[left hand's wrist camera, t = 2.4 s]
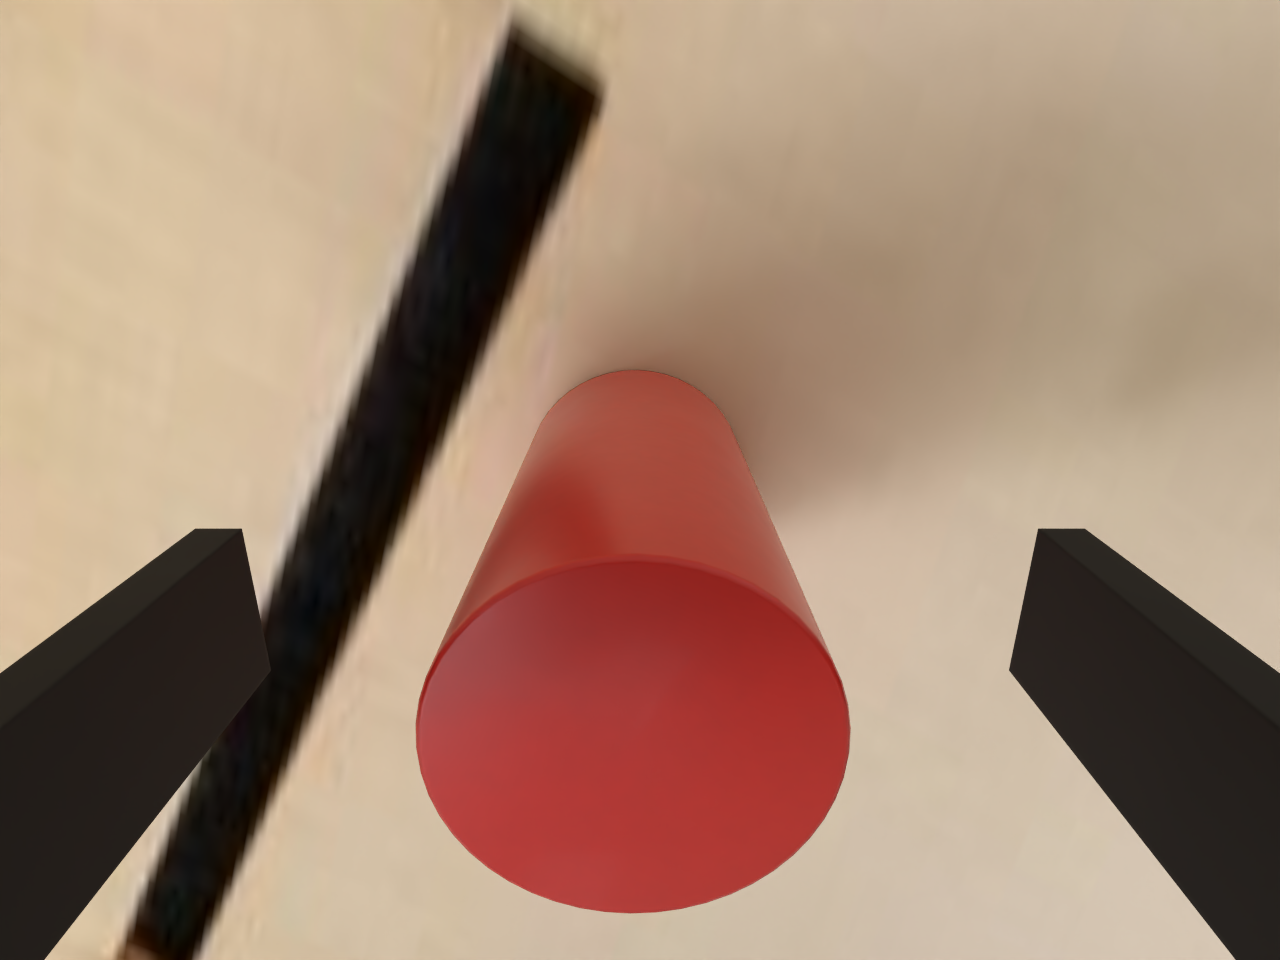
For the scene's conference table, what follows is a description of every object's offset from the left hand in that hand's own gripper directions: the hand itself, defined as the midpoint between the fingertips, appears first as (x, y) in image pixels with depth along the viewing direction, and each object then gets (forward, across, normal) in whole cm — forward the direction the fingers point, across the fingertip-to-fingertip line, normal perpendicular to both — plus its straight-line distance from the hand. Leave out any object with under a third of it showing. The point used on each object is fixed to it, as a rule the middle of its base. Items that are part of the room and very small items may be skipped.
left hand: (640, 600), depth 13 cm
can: (+7, 0, 0) cm, 7 cm away
